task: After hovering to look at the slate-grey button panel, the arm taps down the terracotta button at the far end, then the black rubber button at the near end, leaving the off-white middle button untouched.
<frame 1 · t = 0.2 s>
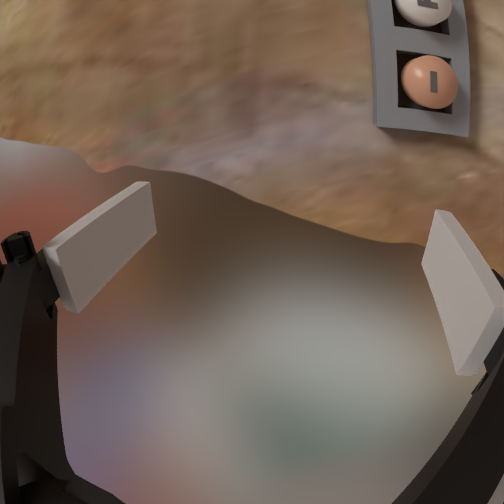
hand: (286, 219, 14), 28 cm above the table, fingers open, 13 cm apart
button terracotta: (429, 81, 27), point 4 cm above the table, slide at 0.0 cm
panel: (413, 9, 26), on the table
button white: (422, 1, 22), point 4 cm above the table, slide at 0.0 cm
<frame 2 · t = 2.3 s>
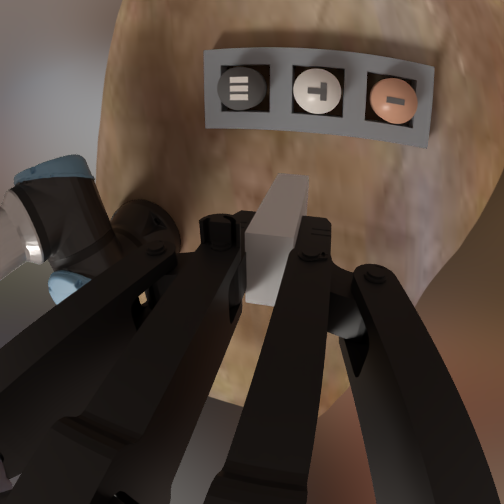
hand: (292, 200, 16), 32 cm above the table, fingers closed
button terracotta: (393, 100, 35), point 4 cm above the table, slide at 0.0 cm
panel: (318, 90, 40), on the table
button white: (317, 90, 37), point 4 cm above the table, slide at 0.0 cm
button black: (242, 88, 39), point 4 cm above the table, slide at 0.0 cm
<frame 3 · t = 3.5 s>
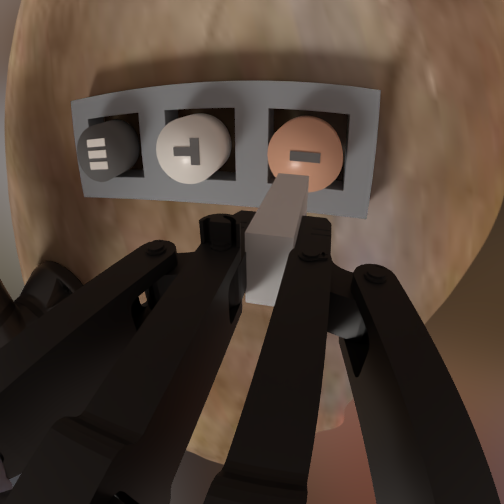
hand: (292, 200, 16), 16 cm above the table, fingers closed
button terracotta: (306, 152, 25), point 4 cm above the table, slide at 0.0 cm
panel: (210, 138, 31), on the table
button white: (194, 147, 27), point 4 cm above the table, slide at 0.0 cm
button black: (107, 149, 29), point 4 cm above the table, slide at 0.0 cm
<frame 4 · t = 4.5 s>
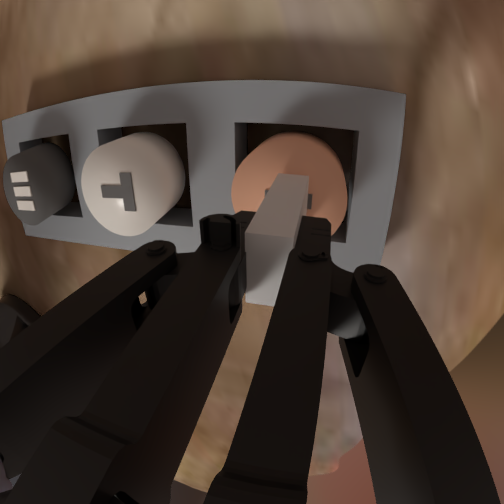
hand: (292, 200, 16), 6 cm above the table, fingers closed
button terracotta: (291, 188, 17), point 4 cm above the table, slide at 0.4 cm, touching gripper
panel: (162, 164, 23), on the table
button white: (132, 182, 19), point 4 cm above the table, slide at 0.0 cm
button black: (37, 183, 21), point 4 cm above the table, slide at 0.0 cm
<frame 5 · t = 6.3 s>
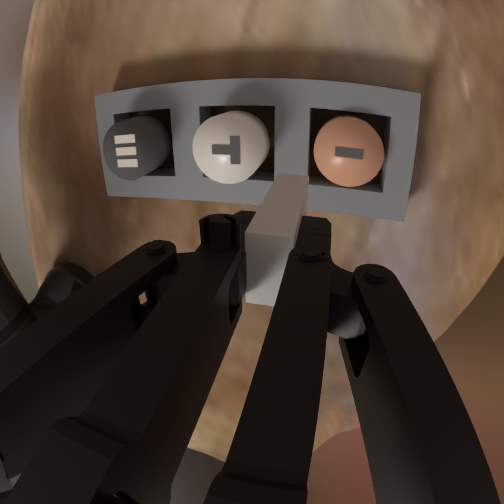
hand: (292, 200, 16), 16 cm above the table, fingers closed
button terracotta: (348, 149, 26), point 2 cm above the table, slide at 2.0 cm
panel: (245, 137, 30), on the table
button white: (232, 145, 27), point 4 cm above the table, slide at 0.0 cm
button black: (136, 146, 29), point 4 cm above the table, slide at 0.0 cm
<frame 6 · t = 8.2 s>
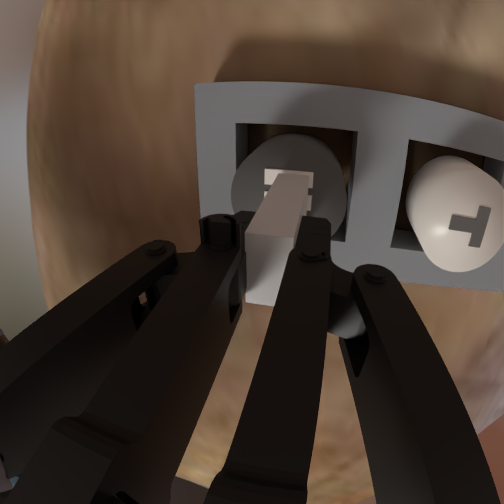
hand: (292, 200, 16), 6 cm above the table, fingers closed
panel: (437, 188, 19), on the table
button white: (457, 212, 15), point 4 cm above the table, slide at 0.0 cm
button black: (291, 189, 17), point 4 cm above the table, slide at 0.1 cm, touching gripper
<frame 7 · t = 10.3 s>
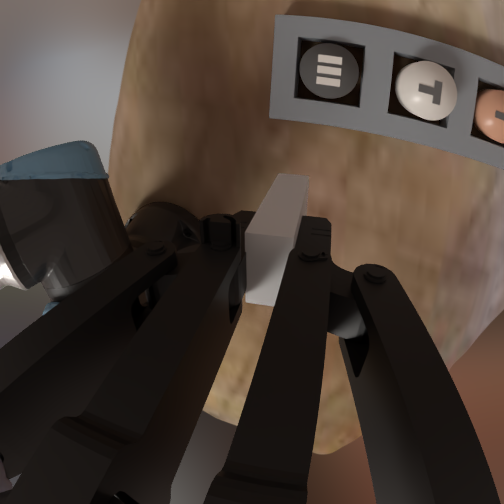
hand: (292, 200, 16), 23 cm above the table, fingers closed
button terracotta: (497, 115, 25), point 2 cm above the table, slide at 2.0 cm
panel: (416, 89, 28), on the table
button white: (425, 90, 25), point 4 cm above the table, slide at 0.0 cm
button black: (329, 71, 29), point 2 cm above the table, slide at 2.0 cm
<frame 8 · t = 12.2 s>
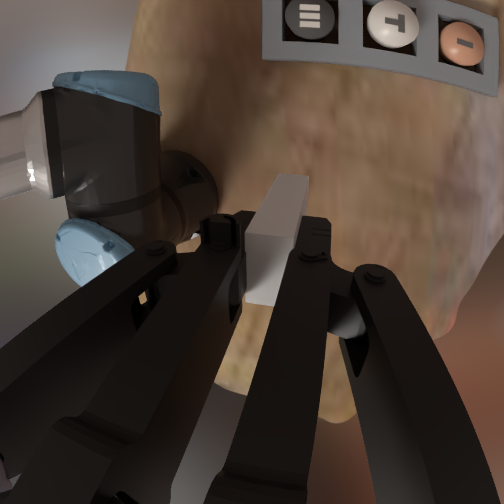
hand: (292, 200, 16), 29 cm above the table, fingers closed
button terracotta: (460, 44, 27), point 2 cm above the table, slide at 2.0 cm
panel: (386, 30, 31), on the table
button white: (392, 24, 27), point 4 cm above the table, slide at 0.0 cm
button black: (310, 18, 31), point 2 cm above the table, slide at 2.0 cm
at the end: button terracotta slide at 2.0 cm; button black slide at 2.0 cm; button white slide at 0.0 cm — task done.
